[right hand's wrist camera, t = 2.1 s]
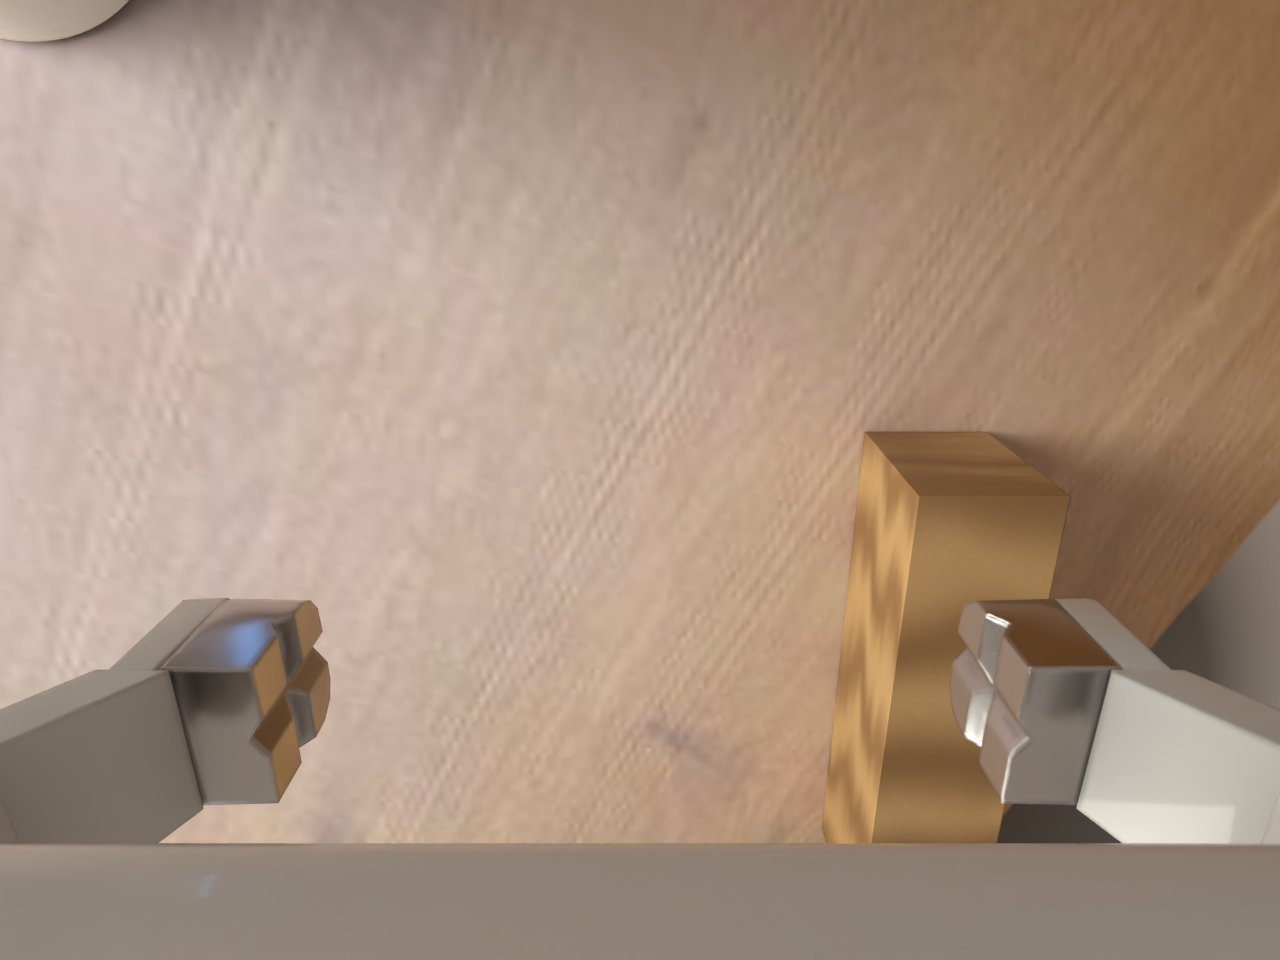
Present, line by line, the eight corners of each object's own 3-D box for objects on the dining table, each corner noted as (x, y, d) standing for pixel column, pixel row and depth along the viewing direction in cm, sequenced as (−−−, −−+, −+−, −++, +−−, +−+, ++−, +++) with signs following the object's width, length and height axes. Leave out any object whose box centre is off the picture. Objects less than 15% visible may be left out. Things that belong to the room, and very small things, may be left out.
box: (864, 431, 41) (918, 495, 33) (987, 431, 41) (1071, 495, 33) (821, 827, 50) (855, 951, 42) (921, 827, 50) (973, 951, 42)
